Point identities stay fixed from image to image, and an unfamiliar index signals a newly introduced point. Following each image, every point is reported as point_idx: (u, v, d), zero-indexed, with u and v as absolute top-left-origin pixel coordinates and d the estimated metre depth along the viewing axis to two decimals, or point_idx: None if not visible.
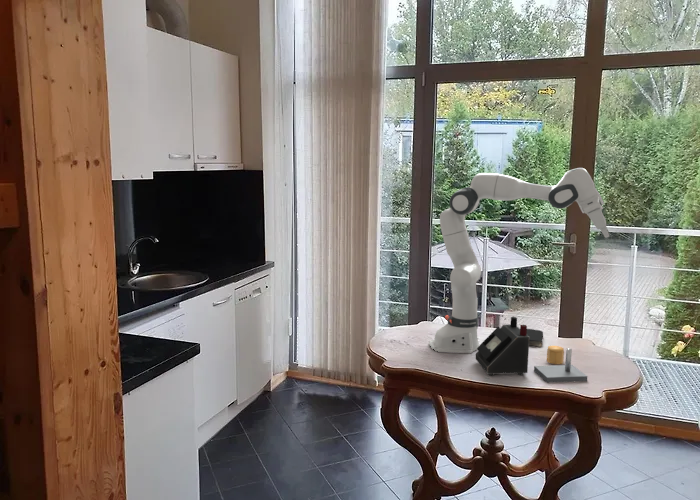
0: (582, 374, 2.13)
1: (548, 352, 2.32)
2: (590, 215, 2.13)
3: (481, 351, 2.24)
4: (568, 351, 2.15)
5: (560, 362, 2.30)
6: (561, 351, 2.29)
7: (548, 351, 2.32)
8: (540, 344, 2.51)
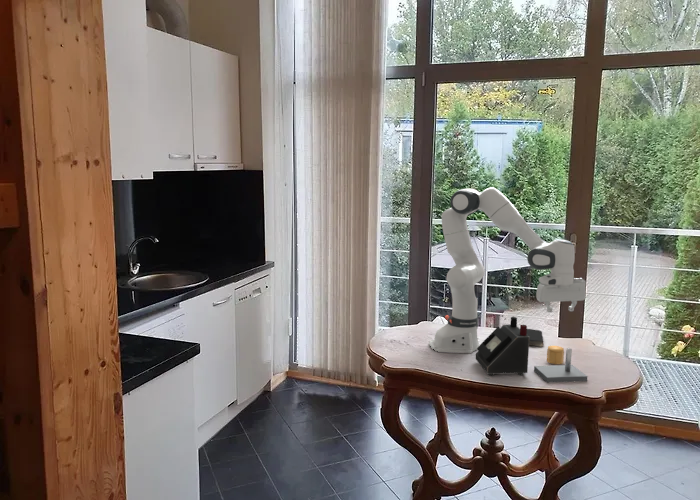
0: (582, 374, 2.13)
1: (548, 352, 2.32)
2: (538, 285, 2.28)
3: (481, 351, 2.24)
4: (568, 351, 2.15)
5: (560, 362, 2.30)
6: (561, 351, 2.29)
7: (548, 351, 2.32)
8: (541, 344, 2.51)
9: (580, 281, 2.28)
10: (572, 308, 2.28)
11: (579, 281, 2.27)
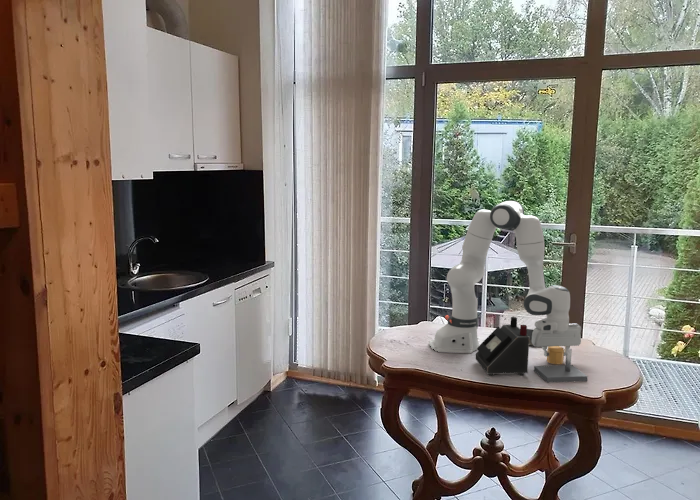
0: (582, 374, 2.13)
1: None
2: (533, 330, 2.31)
3: (481, 351, 2.24)
4: (568, 351, 2.15)
5: (560, 362, 2.30)
6: (561, 351, 2.29)
7: (548, 351, 2.32)
8: None
9: (575, 327, 2.30)
10: (565, 353, 2.31)
11: (574, 327, 2.30)
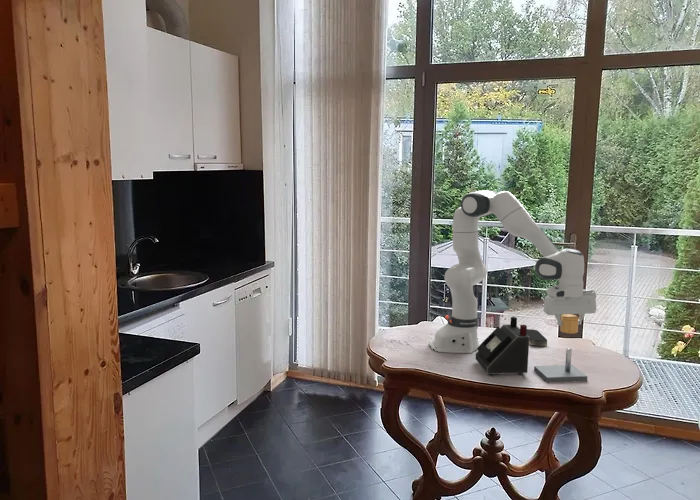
0: (582, 374, 2.13)
1: None
2: (545, 297, 2.17)
3: (481, 351, 2.24)
4: (568, 351, 2.15)
5: (574, 331, 2.15)
6: (575, 319, 2.14)
7: None
8: (546, 343, 2.52)
9: (590, 293, 2.16)
10: (579, 321, 2.17)
11: (589, 293, 2.16)
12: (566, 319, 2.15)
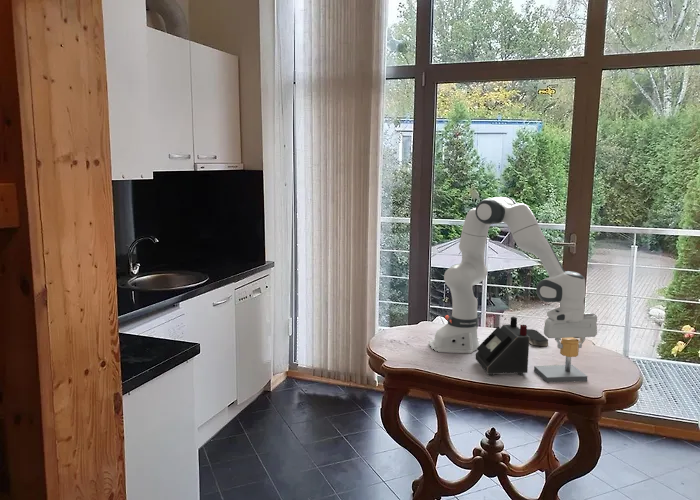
0: (582, 374, 2.13)
1: None
2: (546, 320, 2.15)
3: (481, 351, 2.24)
4: None
5: (574, 355, 2.13)
6: (576, 343, 2.13)
7: (562, 343, 2.15)
8: (547, 343, 2.52)
9: (591, 316, 2.14)
10: (580, 345, 2.15)
11: (590, 316, 2.14)
12: (566, 342, 2.13)
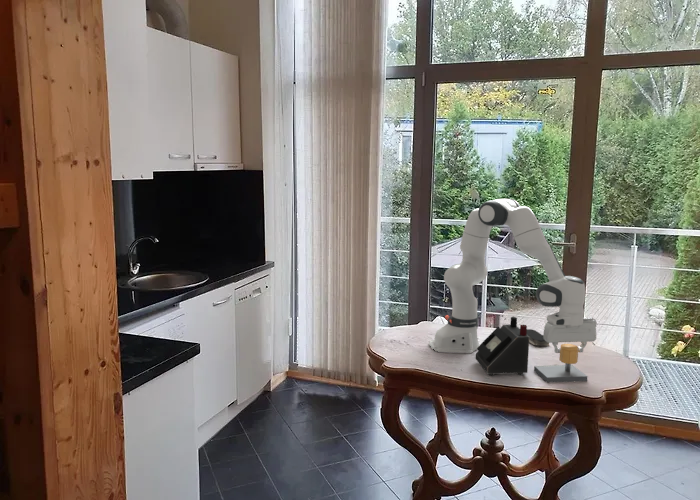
0: (582, 374, 2.13)
1: (561, 351, 2.16)
2: (545, 324, 2.15)
3: (481, 351, 2.24)
4: None
5: (574, 362, 2.14)
6: (575, 350, 2.13)
7: (561, 350, 2.16)
8: (548, 343, 2.53)
9: (591, 321, 2.14)
10: (581, 349, 2.15)
11: (589, 321, 2.14)
12: (566, 349, 2.14)
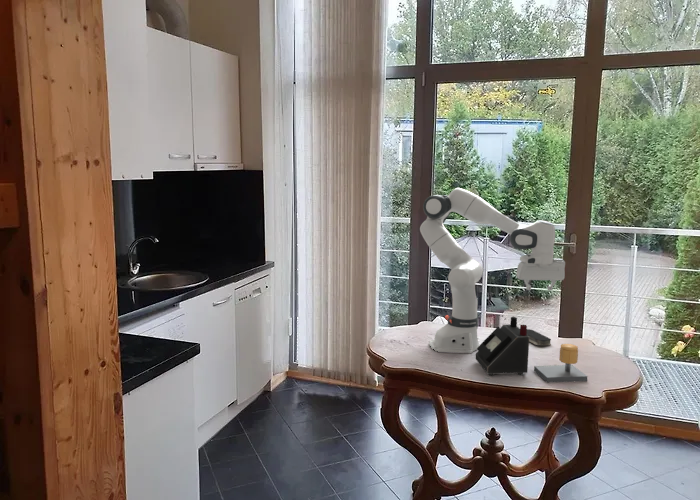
0: (582, 374, 2.13)
1: (561, 351, 2.16)
2: (518, 264, 2.38)
3: (481, 351, 2.24)
4: None
5: (574, 362, 2.14)
6: (575, 350, 2.13)
7: (561, 350, 2.16)
8: None
9: (560, 262, 2.36)
10: (551, 287, 2.38)
11: (559, 262, 2.36)
12: (566, 349, 2.14)
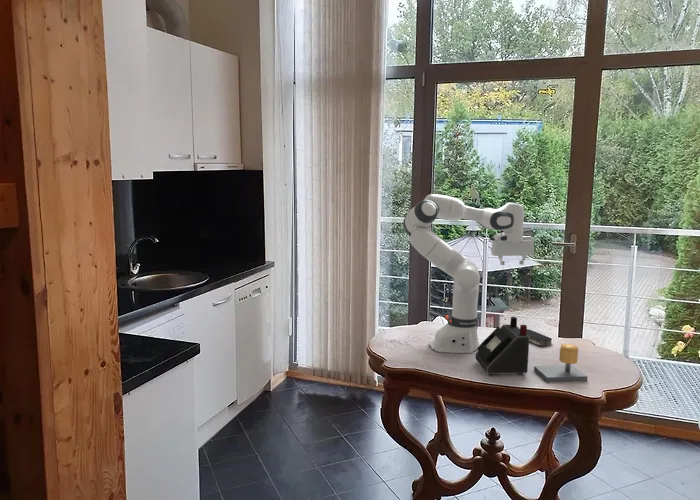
0: (582, 374, 2.13)
1: (561, 351, 2.16)
2: (493, 242, 2.65)
3: (481, 351, 2.24)
4: None
5: (574, 362, 2.14)
6: (575, 350, 2.13)
7: (561, 350, 2.16)
8: None
9: (529, 239, 2.64)
10: (522, 262, 2.65)
11: (528, 239, 2.64)
12: (566, 349, 2.14)
